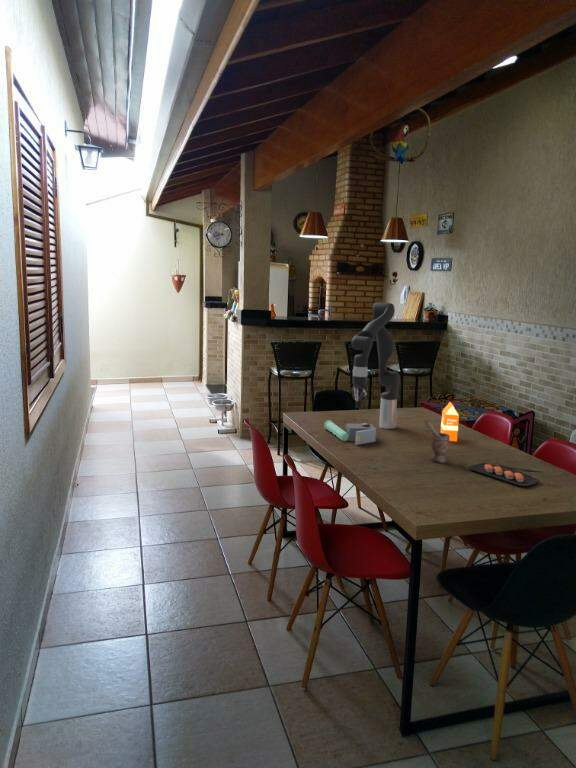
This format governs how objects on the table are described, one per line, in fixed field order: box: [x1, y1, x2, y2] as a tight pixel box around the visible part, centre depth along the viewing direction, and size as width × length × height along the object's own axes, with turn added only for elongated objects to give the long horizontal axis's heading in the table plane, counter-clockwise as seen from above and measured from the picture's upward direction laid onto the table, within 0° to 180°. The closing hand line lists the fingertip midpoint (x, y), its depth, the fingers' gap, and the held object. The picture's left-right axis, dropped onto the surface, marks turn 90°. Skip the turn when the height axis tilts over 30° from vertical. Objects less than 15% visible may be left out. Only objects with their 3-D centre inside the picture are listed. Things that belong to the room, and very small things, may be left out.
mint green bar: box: [323, 419, 349, 442], centre depth 314 cm, size 6×6×25 cm
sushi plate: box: [468, 462, 542, 487], centre depth 261 cm, size 29×30×4 cm
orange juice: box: [439, 401, 460, 442], centre depth 314 cm, size 8×9×20 cm
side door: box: [354, 427, 378, 446], centre depth 300 cm, size 14×2×7 cm, turn 126°
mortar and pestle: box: [424, 418, 450, 464], centre depth 274 cm, size 12×9×20 cm
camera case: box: [345, 422, 376, 442], centre depth 309 cm, size 14×10×8 cm
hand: (357, 407), depth 298 cm, fingers closed
